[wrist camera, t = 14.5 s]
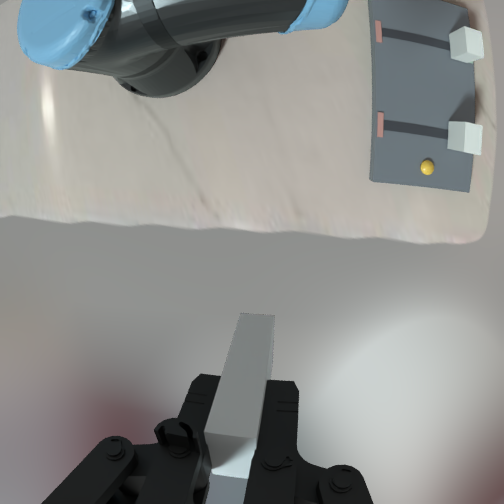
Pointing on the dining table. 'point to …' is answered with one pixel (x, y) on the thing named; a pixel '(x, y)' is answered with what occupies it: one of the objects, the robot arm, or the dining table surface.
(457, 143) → the block
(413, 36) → the breaker panel
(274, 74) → the dining table surface
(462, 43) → the block
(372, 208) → the dining table surface
